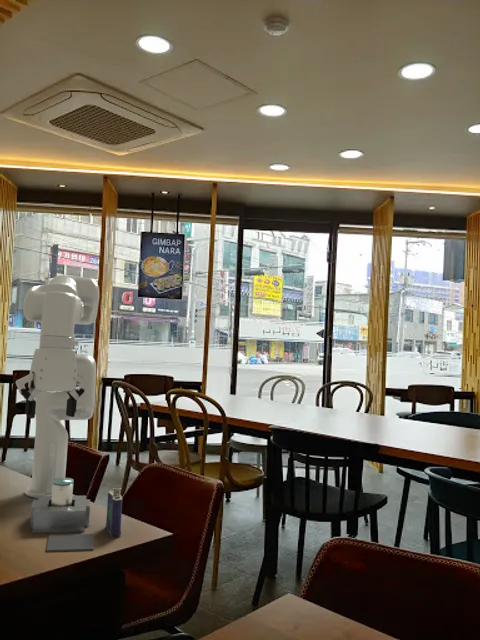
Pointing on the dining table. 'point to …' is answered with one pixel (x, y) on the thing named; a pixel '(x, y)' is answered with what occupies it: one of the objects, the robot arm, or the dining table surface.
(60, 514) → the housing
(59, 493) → the light piece
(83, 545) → the mat
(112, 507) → the flask
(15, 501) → the dining table surface
